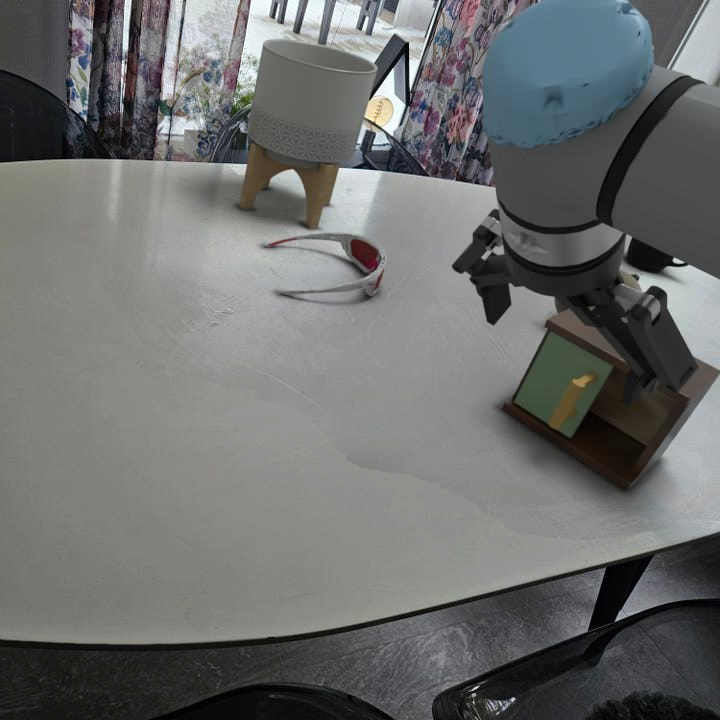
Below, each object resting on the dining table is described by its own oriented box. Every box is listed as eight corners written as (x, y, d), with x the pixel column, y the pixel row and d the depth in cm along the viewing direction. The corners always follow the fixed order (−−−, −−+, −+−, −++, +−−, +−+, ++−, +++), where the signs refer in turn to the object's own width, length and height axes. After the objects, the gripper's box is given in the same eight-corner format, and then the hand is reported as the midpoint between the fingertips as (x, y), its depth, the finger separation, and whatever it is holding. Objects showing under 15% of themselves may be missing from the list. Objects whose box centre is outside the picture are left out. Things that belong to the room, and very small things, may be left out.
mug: (612, 258, 135) (638, 209, 130) (630, 250, 141) (656, 203, 135) (673, 287, 129) (703, 237, 123) (689, 278, 134) (719, 230, 129)
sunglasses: (396, 308, 101) (401, 277, 98) (281, 315, 100) (282, 284, 97) (364, 253, 115) (368, 225, 112) (263, 258, 113) (264, 230, 110)
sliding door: (573, 436, 81) (616, 363, 75) (551, 452, 78) (594, 378, 72) (516, 400, 85) (553, 328, 79) (493, 414, 82) (530, 340, 76)
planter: (268, 231, 116) (304, 68, 101) (216, 185, 128) (242, 34, 114) (356, 225, 125) (401, 75, 110) (300, 183, 138) (333, 43, 123)
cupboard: (659, 458, 83) (722, 371, 75) (626, 490, 77) (690, 398, 69) (540, 385, 92) (585, 300, 84) (501, 408, 85) (547, 318, 78)
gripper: (379, 188, 52) (427, 313, 70) (723, 368, 38) (673, 467, 56) (444, 113, 52) (475, 257, 70) (808, 265, 39) (732, 396, 56)
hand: (563, 350), depth 63 cm, fingers open, 13 cm apart
